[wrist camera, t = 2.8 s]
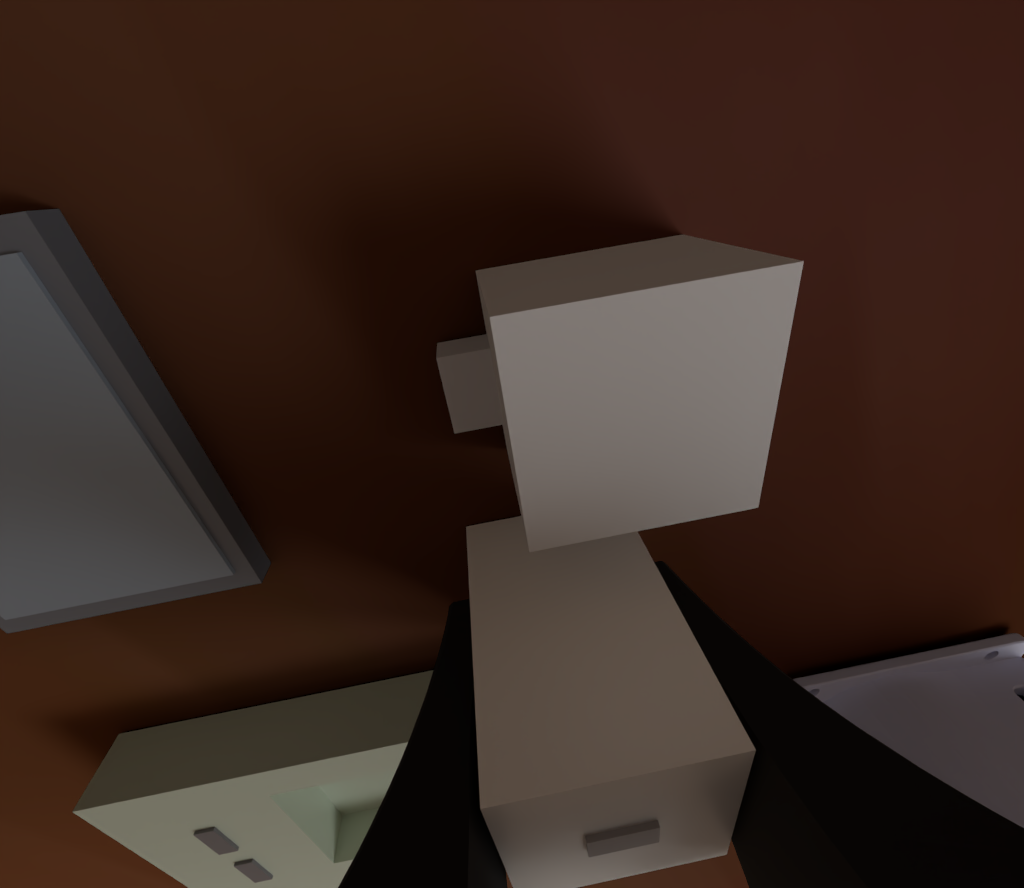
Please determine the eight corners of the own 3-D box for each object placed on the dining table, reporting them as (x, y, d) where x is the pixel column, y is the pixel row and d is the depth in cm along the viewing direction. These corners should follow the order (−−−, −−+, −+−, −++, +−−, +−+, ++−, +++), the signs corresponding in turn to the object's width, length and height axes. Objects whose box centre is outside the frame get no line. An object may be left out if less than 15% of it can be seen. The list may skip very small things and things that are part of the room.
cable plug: (679, 234, 9) (804, 261, 6) (671, 415, 11) (757, 507, 8) (423, 278, 8) (409, 331, 5) (464, 455, 10) (470, 563, 7)
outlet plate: (500, 656, 14) (507, 725, 12) (533, 784, 19) (542, 848, 17) (118, 733, 14) (69, 816, 12) (248, 845, 18) (226, 916, 17)
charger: (618, 497, 12) (759, 758, 6) (621, 600, 14) (729, 861, 8) (466, 526, 11) (480, 817, 6) (491, 626, 13) (519, 908, 8)
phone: (82, 207, 8) (19, 211, 6) (278, 547, 12) (260, 586, 11) (-283, 269, 7) (-414, 285, 6) (46, 593, 12) (3, 637, 10)
